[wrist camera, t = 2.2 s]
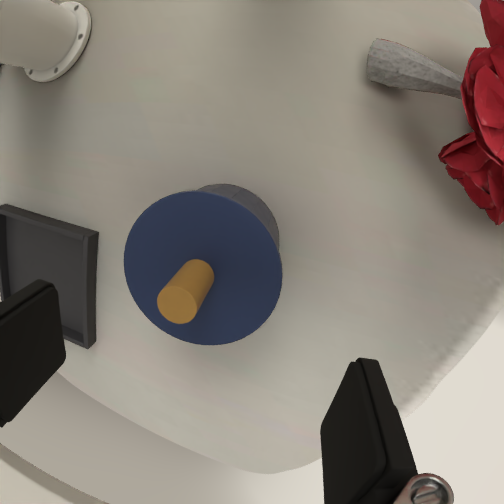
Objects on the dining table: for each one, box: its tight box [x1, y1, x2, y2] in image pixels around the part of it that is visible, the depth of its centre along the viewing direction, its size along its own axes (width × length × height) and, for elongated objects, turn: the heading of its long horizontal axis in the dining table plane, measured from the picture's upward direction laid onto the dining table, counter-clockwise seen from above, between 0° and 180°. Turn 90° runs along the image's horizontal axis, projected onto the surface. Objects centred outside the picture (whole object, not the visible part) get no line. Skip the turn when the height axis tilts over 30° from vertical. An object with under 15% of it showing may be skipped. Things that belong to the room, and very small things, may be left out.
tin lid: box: [124, 190, 282, 345], centre depth 24 cm, size 14×14×7 cm
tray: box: [0, 204, 99, 349], centre depth 39 cm, size 20×18×2 cm
